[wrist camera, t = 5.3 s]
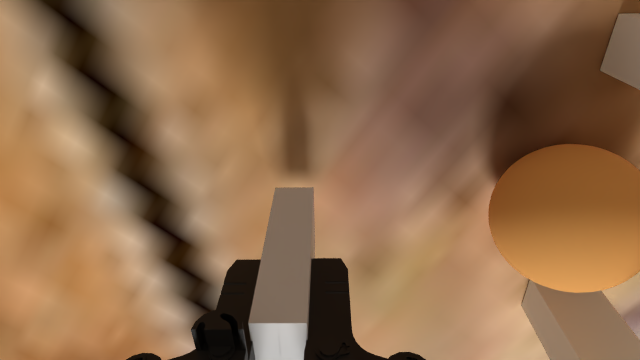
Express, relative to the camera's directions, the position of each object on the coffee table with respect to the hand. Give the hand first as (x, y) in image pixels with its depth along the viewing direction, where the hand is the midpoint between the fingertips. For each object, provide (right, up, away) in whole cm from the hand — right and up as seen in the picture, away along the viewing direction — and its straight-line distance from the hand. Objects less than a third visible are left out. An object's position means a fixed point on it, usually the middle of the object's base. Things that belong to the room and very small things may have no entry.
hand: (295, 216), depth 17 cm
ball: (+10, 0, -1) cm, 10 cm away
